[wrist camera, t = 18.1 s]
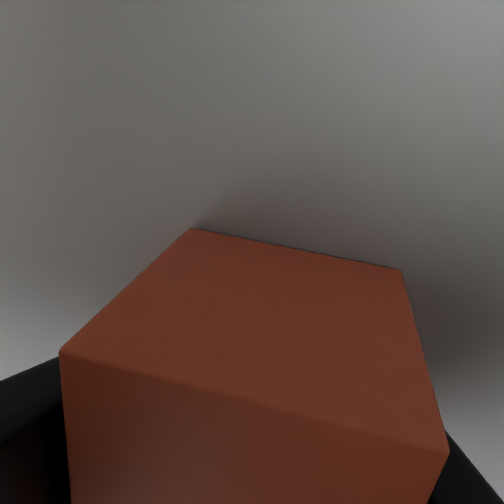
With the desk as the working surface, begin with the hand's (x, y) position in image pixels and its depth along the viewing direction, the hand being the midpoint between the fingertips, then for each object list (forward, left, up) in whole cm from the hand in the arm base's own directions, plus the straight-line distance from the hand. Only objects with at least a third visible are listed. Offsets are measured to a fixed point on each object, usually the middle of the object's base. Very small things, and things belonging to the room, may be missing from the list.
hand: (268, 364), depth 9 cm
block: (0, 0, -1) cm, 1 cm away
